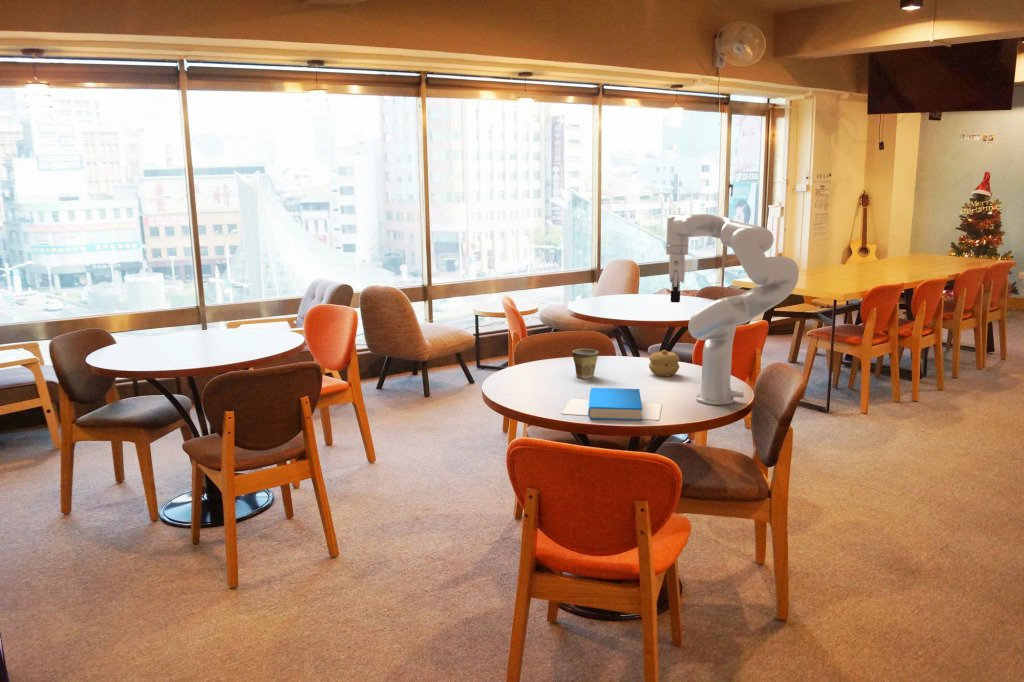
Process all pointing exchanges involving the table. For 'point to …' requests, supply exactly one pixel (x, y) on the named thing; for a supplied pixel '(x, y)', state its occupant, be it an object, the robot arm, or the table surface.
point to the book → (615, 404)
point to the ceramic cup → (585, 362)
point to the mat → (582, 407)
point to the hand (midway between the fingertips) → (675, 301)
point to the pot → (664, 363)
